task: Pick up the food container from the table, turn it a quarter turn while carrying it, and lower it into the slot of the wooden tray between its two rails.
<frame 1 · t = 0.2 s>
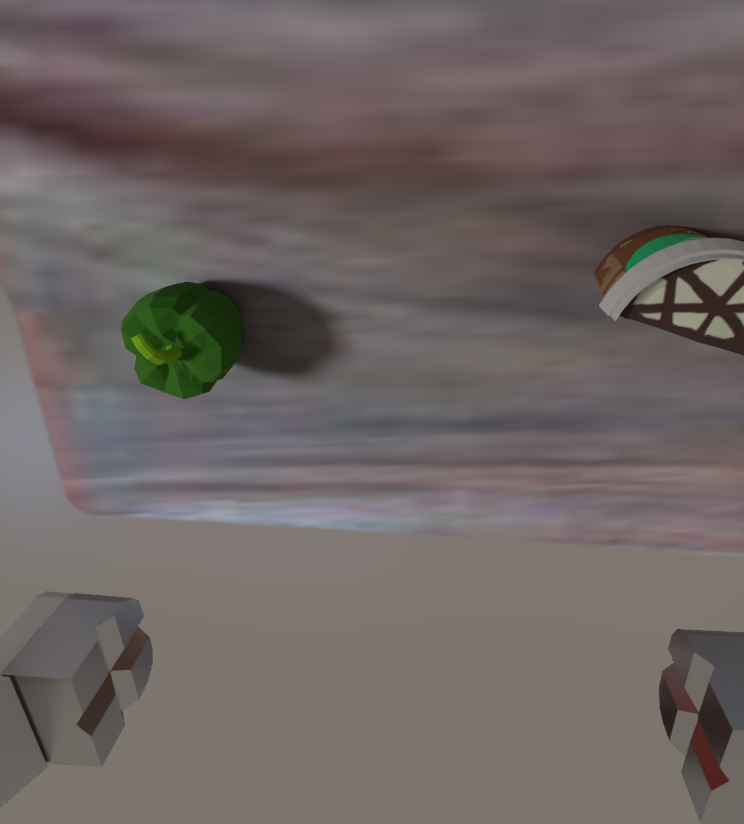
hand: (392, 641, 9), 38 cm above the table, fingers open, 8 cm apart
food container: (673, 252, 42), on the table
bell pepper: (209, 314, 49), on the table
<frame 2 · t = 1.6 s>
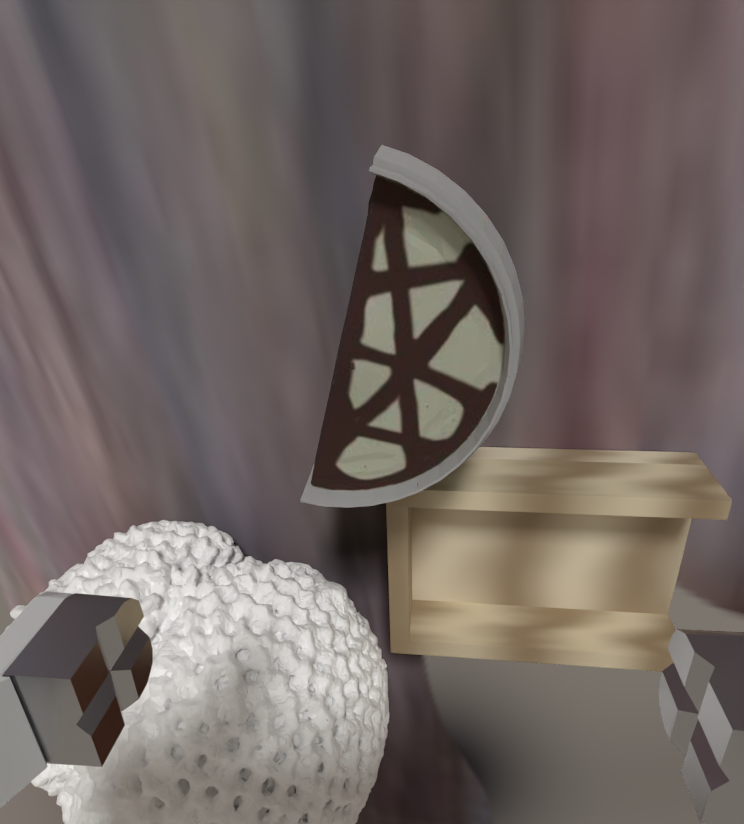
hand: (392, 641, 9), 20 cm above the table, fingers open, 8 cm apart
wooden tray: (531, 531, 32), on the table
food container: (433, 298, 27), on the table
white bumpy round lump: (244, 602, 37), on the table
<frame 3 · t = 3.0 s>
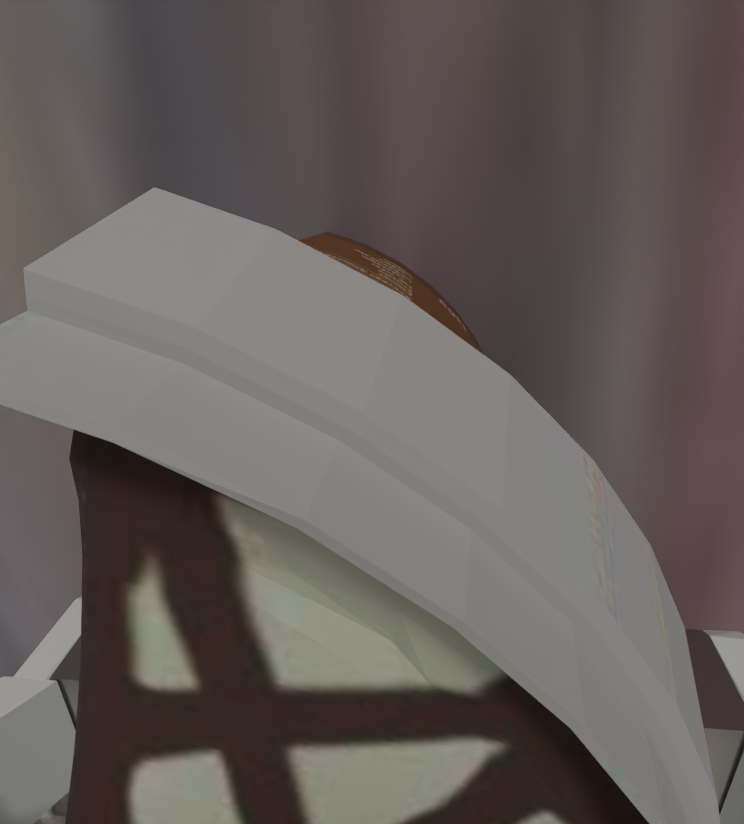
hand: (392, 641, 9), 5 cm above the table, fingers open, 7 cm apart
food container: (414, 456, 14), on the table, touching gripper
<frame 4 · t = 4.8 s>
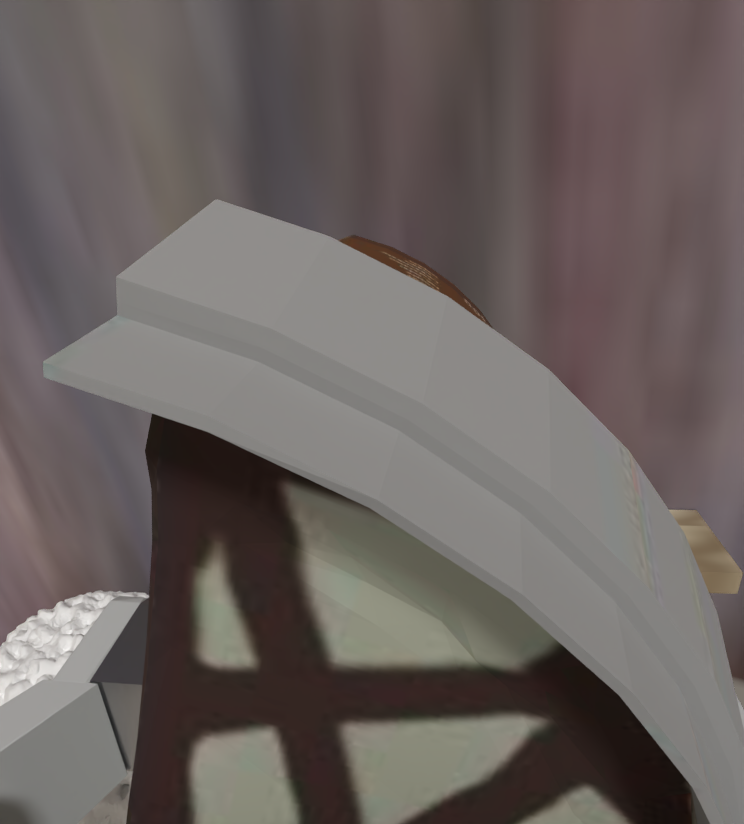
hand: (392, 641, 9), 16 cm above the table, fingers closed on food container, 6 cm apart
wooden tray: (515, 596, 29), on the table
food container: (439, 454, 14), point 10 cm above the table, touching gripper
white bumpy round lump: (197, 674, 33), on the table
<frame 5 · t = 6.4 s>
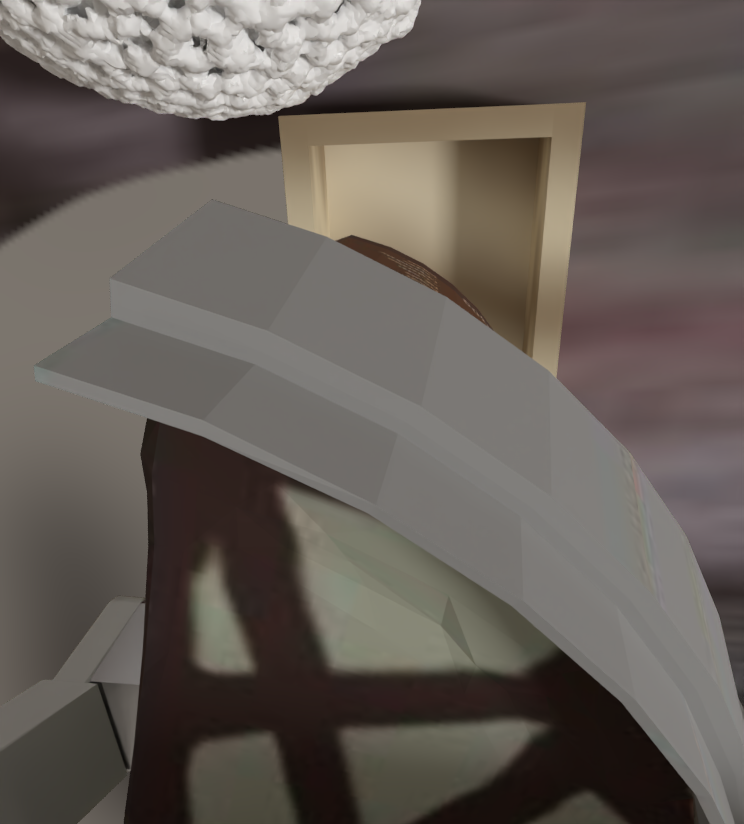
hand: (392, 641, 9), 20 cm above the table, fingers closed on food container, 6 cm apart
wooden tray: (429, 295, 27), on the table
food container: (438, 454, 14), point 14 cm above the table, touching gripper
when the fingers open (7 cm above the table, at t = 8.7 s): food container stays where it is, resting on wooden tray.
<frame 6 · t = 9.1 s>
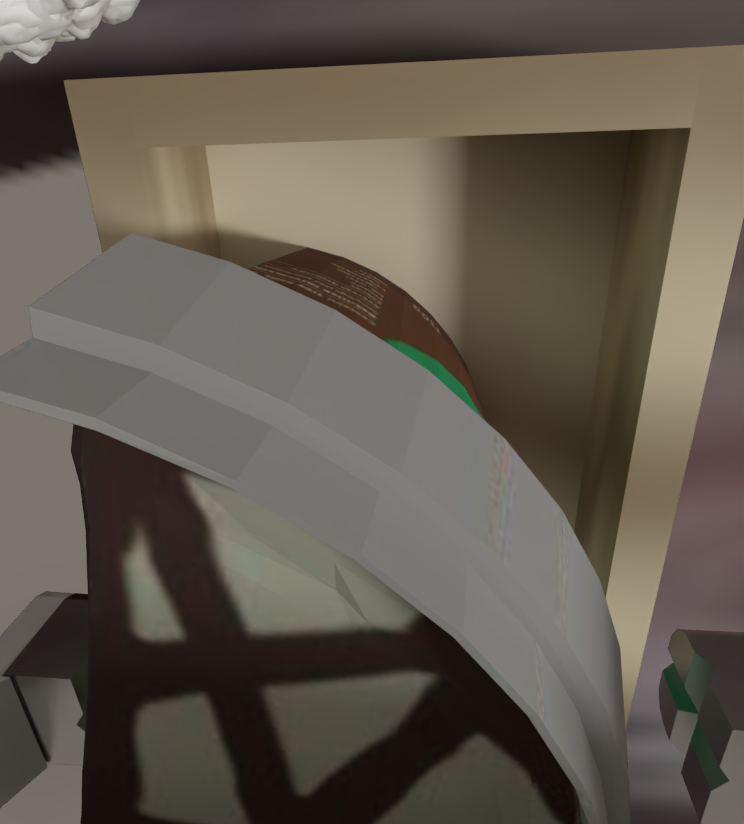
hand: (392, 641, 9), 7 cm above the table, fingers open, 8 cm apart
wooden tray: (413, 407, 15), on the table
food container: (403, 452, 15), point 1 cm above the table, touching wooden tray
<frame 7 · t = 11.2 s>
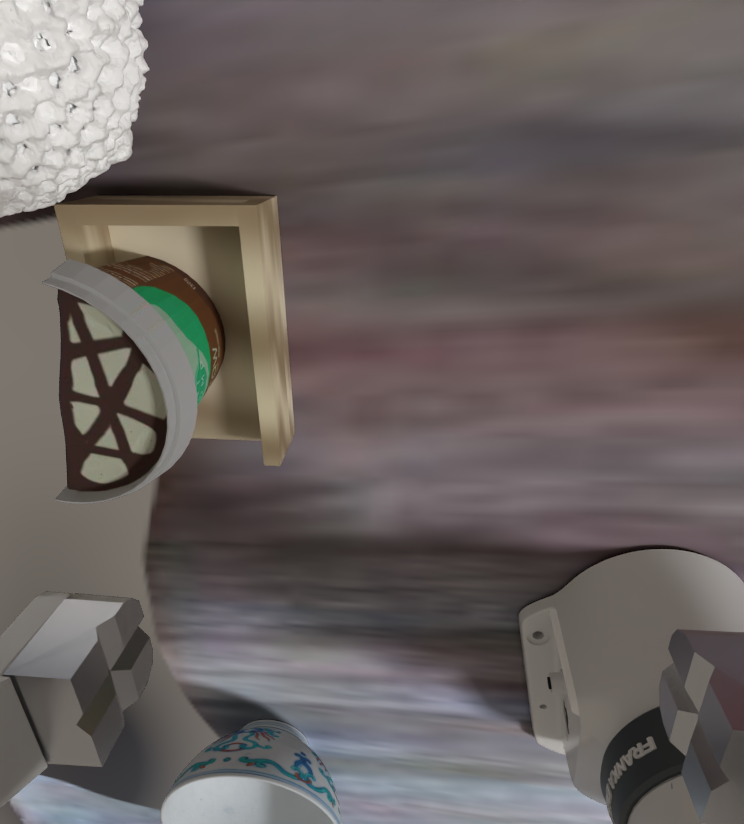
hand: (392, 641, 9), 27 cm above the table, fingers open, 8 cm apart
wooden tray: (203, 323, 36), on the table
chinaware: (274, 740, 54), on the table
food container: (196, 341, 35), point 1 cm above the table, touching wooden tray
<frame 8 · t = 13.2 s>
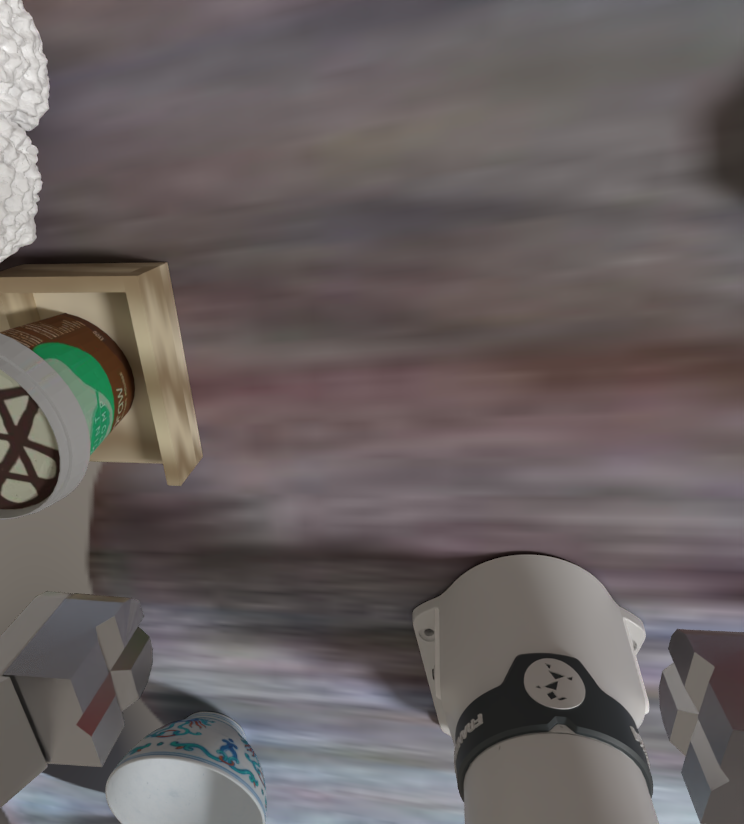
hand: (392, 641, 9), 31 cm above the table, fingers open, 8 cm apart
wooden tray: (118, 366, 43), on the table
chinaware: (215, 731, 60), on the table
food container: (111, 381, 42), point 1 cm above the table, touching wooden tray
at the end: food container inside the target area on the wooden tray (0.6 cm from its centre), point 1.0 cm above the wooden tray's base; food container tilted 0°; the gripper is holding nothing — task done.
